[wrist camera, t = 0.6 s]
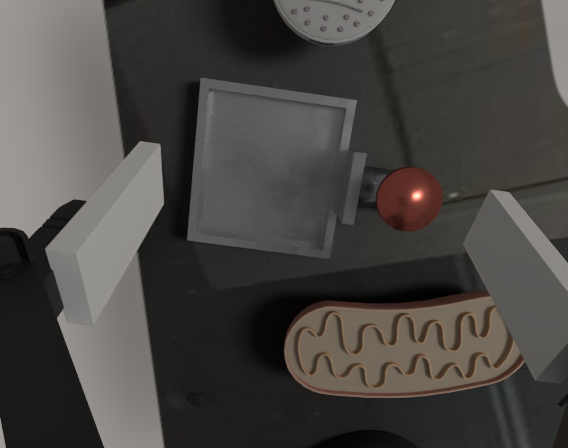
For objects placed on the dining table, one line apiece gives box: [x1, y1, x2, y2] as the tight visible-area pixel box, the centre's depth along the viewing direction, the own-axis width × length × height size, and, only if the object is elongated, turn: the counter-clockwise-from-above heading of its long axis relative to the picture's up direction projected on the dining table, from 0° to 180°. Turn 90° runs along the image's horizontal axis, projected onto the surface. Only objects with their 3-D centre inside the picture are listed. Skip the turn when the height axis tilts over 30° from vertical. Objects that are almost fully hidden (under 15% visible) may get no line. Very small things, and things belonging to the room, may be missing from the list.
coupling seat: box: [187, 78, 443, 259], centre depth 33 cm, size 22×14×7 cm
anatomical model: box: [284, 291, 525, 398], centre depth 38 cm, size 23×10×5 cm, turn 94°
